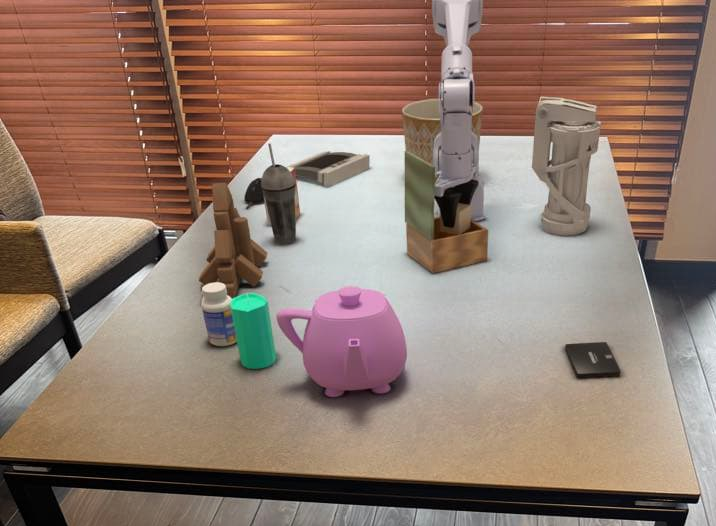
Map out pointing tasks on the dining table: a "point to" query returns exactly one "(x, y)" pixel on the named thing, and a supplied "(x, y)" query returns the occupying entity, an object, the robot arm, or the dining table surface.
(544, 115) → the lantern
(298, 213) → the small box
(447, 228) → the cube
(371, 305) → the teapot
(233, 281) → the wooden blocks
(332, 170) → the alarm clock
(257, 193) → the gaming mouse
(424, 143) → the planter
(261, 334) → the candle
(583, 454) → the dining table surface
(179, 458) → the dining table surface
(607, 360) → the solid state drive
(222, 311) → the pill bottle
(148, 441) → the dining table surface
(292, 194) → the beverage cup
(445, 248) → the open wooden box
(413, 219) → the lid
